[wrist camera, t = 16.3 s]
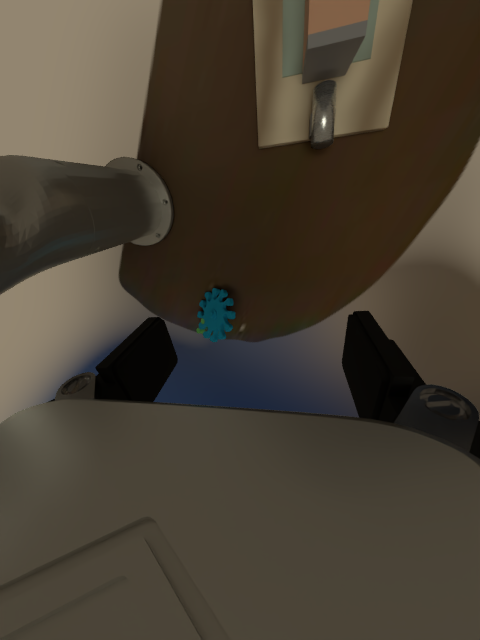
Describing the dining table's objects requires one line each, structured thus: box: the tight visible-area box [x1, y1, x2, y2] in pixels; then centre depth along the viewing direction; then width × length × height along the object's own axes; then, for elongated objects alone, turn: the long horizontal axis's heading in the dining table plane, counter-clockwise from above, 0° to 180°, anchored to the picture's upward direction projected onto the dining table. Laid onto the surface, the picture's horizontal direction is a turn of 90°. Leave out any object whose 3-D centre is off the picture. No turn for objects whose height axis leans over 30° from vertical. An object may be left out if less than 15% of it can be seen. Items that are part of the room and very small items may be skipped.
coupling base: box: [253, 0, 413, 149], centre depth 21 cm, size 15×18×3 cm
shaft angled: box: [311, 80, 337, 149], centre depth 24 cm, size 2×5×4 cm, turn 5°
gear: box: [197, 288, 235, 342], centre depth 41 cm, size 11×6×10 cm
